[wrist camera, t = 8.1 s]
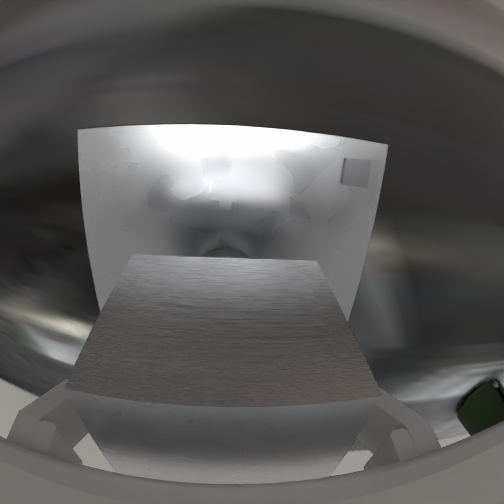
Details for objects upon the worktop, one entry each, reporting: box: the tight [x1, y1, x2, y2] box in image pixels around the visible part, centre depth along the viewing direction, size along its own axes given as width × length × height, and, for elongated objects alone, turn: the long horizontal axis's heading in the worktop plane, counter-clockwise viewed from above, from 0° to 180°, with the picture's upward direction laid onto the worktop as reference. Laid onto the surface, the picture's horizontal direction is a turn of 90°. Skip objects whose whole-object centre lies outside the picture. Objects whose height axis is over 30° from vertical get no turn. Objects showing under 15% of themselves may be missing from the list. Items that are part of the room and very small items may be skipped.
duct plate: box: [78, 124, 388, 321], centre depth 14 cm, size 14×14×4 cm
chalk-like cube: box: [64, 254, 382, 484], centre depth 9 cm, size 6×6×6 cm
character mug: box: [457, 379, 504, 436], centre depth 19 cm, size 11×7×13 cm, turn 83°
